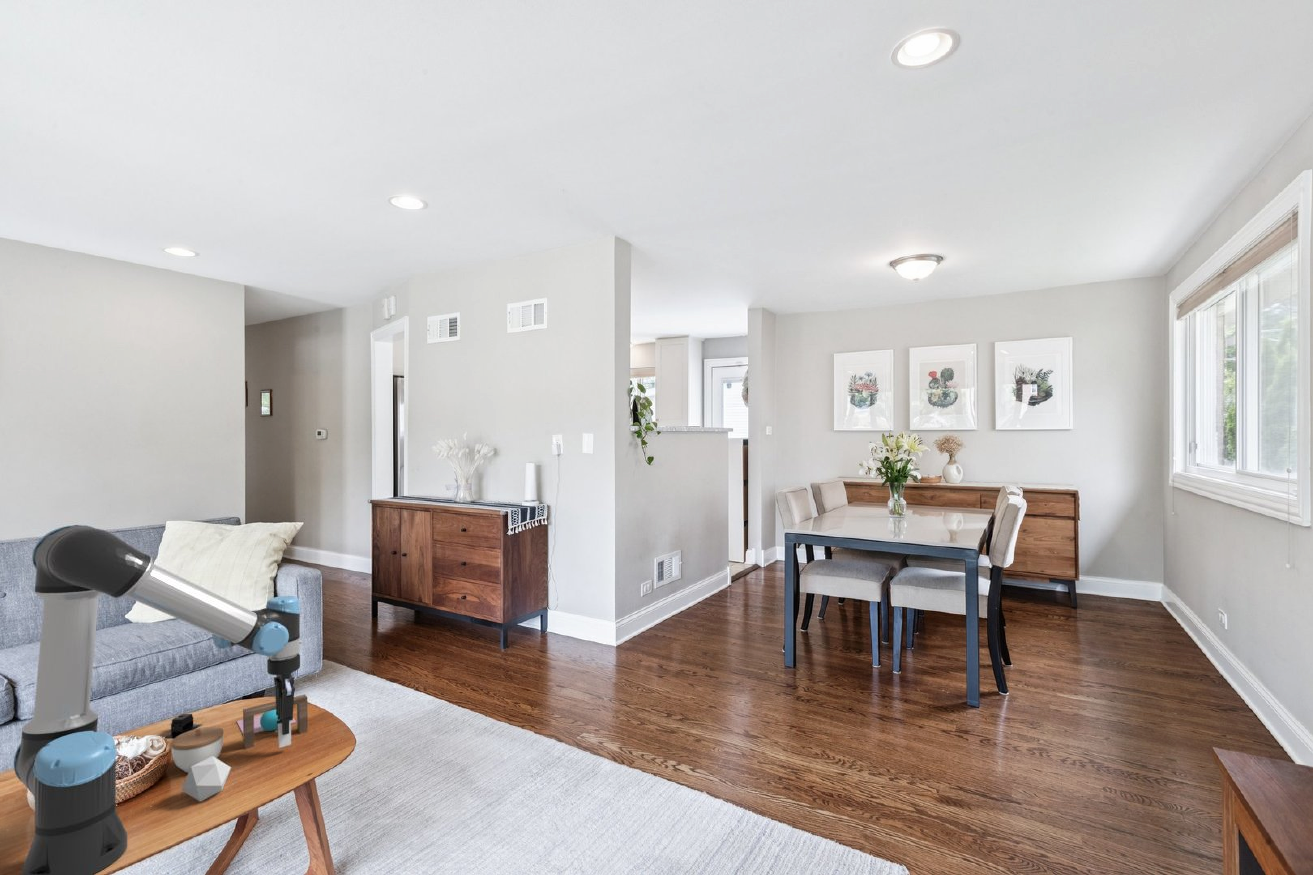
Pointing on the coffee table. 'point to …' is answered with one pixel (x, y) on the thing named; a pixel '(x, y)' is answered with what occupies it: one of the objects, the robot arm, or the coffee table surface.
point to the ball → (269, 720)
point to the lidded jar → (196, 746)
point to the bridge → (250, 712)
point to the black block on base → (181, 725)
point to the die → (206, 778)
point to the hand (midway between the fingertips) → (284, 744)
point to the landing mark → (257, 724)
